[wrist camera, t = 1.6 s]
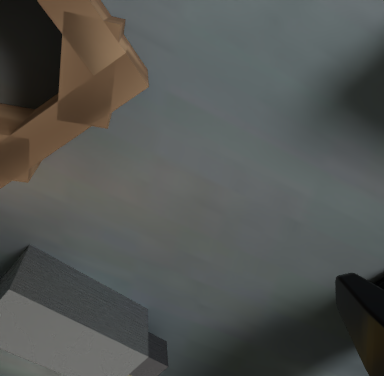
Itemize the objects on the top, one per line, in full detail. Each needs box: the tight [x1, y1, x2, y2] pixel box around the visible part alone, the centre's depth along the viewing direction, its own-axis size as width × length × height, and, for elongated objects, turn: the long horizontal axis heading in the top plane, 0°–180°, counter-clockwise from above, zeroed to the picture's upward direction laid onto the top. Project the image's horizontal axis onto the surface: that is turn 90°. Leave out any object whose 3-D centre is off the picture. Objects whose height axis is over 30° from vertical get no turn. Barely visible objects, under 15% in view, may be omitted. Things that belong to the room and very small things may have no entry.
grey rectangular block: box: [0, 245, 168, 376], centre depth 23 cm, size 12×4×4 cm, turn 48°
